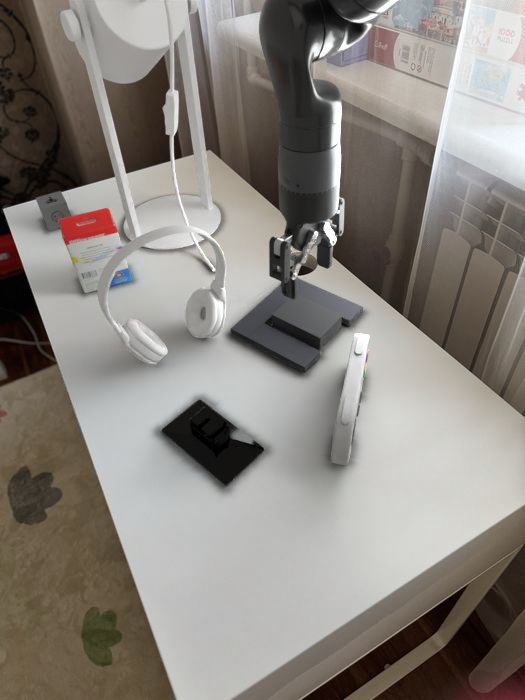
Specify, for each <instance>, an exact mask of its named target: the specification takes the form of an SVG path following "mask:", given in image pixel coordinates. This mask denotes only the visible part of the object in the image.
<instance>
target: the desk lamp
mask: <svg viewBox="0 0 525 700" xmlns="http://www.w3.org/2000/svg"><path fill="white" fill-rule="evenodd" d="M68 3H69V8H68V9H64V10H61V11H60V14H59V15H60V16H59V18H60V24H61V27H62V29H63V32H64V35H65V36H66V38H67V40H69V41H70V42H72V43H73V42H74V44H75V47H76V50H77V52H78V54H79V56H80V57H81V59H82V60H83V62H84V64H85V68H86V72H87V75H88V76H87V77H88V79H89V84H90V88H91V91H92V93H93V94H92V95H93V99H94V102H95V106H96V110H97V113H98V117H99V121H100V125H101V128H102V132H103V136H104V139H105V144H106V147H107V151H108V155H109V158H110V159H109V160H110V163H111V166H112V170H113V174H114V178H115V182H116V186H117V189H118V193H119V197H120V201H121V205H122V209H123V212H124V215H125V216H124V217H125V219H124V222H123V232H124V234H125V236H126V238H127V239H128V240H129V241H132V240H133V239H135V238H137V237H139V236H141V235H143V234H145V233H148V232H150V231H153V230H156V229H159V228H163V227H167V226H174V225H186V226H192V227H196V228H199V229H201V230H203V231H204V232H206V233H207V234H209V235H210V236H212V235H213V233H214V232H216V230H217V229H218V228H219V226H220V223H221V220H222V213H221V210H220V208H219V207H218V205H216V204H215V203H214V202H213V196H212V195H213V194H212V187H211V180H210V171H209V162H208V155H207V148H206V140H205V132H204V124H203V123H204V122H203V116H202V107H201V100H200V94H199V93H200V92H199V84H198V77H197V70H196V69H197V68H196V61H195V54H194V53H195V52H194V46H193V37H192V30H191V23H190V15H192V14H196V12H198V10H199V0H68ZM175 42H177V48H178V55H179V63H180V68H181V69H180V70H181V76H182V84H183V89H184V96H185V104H186V111H187V117H188V118H187V119H188V124H189V131H190V138H191V144H192V152H193V158H194V166H195V173H196V180H197V187H198V191H199V192H198V193H199V196H198V195H191V194H180V190H179V185H178V180H177V174H176V164H175V145H174V143H175V142H174V141H175V140H174V138H175V137H174V136H175V135H176V133H177V131H178V128H179V112H180V111H179V108H180V104H179V103H180V97H179V90H178V89H175ZM168 51H169V89H168V90H167V92H166V93H165V104H164V105H163V106H162V107H161V108H162V112H163V115H164V127H165V135H167V136H169V156H170V157H169V159H170V168H171V176H172V182H173V188H174V192H175V194H171V195H170V194H169V195H164V196H159V197H155V198H152V199H150V200H148V201H147V200H146V201H145V202H143V203H141V204H140V205H138V206H136V207H135V205H134V200H133V196H132V192H131V188H130V183H129V179H128V176H127V173H126V168H125V164H124V160H123V156H122V152H121V147H120V143H119V139H118V135H117V132H116V127H115V123H114V119H113V115H112V111H111V107H110V103H109V99H108V94H107V91H106V86H105V83H104V80H106V81H109V82H112V83H116V84H120V85H121V84H123V85H125V84H126V85H127V84H132V83H136V82H138V81H140V80H143V78H145V77H147V75H148V74H149V73H150V72H151V71H152V70H153V68H155V66H156V65H157V64H158V63H159V62H160V60H161V59H162V57H164V56H165V54H166V53H167V52H168ZM204 240H205V239H204V238H202V237H201V236H200V235H198V234H197V233H177V234H172V235H168V236H165V237H162V238H159V239H156V240H154V241H152V242H149V243H147V244H145V245H143V246H142V247H143V248H146V249H150V250H158V251H169V250H177V249H182V248H187V247H190V246H193V245H194V246H195V247H196V249H197V251H198V252H199V254H200V256H201V257H202V259H203V260H204V262H205V264H207V266H208V267H209V269H210V270H211V271H212V272H216V267H214V265H213V264H212V263H211V262H210V260H209V258H208V257H207V256H206V253H204V251H203V249H202V248H201V246H200V244H199V243H200V242H202V241H204Z"/></svg>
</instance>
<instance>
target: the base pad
mask: <svg viewBox="0 0 525 700" xmlns="http://www.w3.org/2000/svg"><path fill="white" fill-rule="evenodd" d="M298 296H300V297H302V298H304V299H306V300H308V301H311V302H313V303H315V304H317V305H319V306H322V307H324V308H326V309H328V310H330V311H332V312H335V313H337V314H339V315H341V316H342V322H341V324H343V325H346V326H348V327H350V326H351V325H352V324H353V323H354V322H355V321H356V320H357V319H358V318H359V317H360V316H361V314H363V313H364V311H363V310H364V306H362V305H361V304H357V303H355V302H353V301H350V300H348V299H346V298H344V297H342V296H339V295H338V294H335V293H332V292H330V291H328V290H325V289H323V288H321V287H319V286H316V285H315V284H312V283H310V282H307V281H305V280H302V279H300V278H298ZM288 299H289V298H288V297H286V296H284V295H283V294H282V293H281V284H280V285H279V286H278V287H276V288H275V289H274V290H273V291H272V292H271V293H270V294H268V295H267V296H265V298H264V299H263V300H261V302H259V303H258V304H257V305H256V306H254V307H253V309H252V310H250V311H249V312H248V313H247V314H245V316H243V317H241V319H240V320H238V321H237V322H236V323H235V324H234V325H233V326H231V328H230V333H231V335H232V336H233V337H236V338H238V339H240V340H242V341H244V342H245V343H247V344H250V345H251V346H253V347H255V348H257V349H259V350H260V351H263V352H264V353H266V354H268V355H270V356H272V357H274V358H276V359H277V360H279V361H281V362H283V363H284V364H287V365H289V366H291V367H293V368H294V369H296V370H298V371H300V372H302V373H304V374H305V373H307V371H309V370H310V368H312V366H313V365H314V364H315V363H316V362H317V361H318V360H319V359H320V358H321V350H318V349H316V348H314V347H312V346H310V345H308V344H306V343H304V342H302V341H300V340H298V339H296V338H294V337H292V336H290V335H288V334H286V333H284V332H282V331H280V330H278V329H276V328H274V327H272V325H270V324H272V314H273V313H274V312H275V311H276V310H277V309H278V308H279V307H280V306H282V305H283V304H284V303H285V302H286V301H287V300H288Z"/></svg>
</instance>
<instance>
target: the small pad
mask: <svg viewBox="0 0 525 700" xmlns="http://www.w3.org/2000/svg"><path fill="white" fill-rule="evenodd" d="M341 322H342V316H341V315H339V314H337V313H335V312H332V311H330V310H328V309H326V308H324V307H322V306H319V305H317V304H315V303H313V302H311V301H308V300H306V299H304V298H302V297H300V296H297V297H296V298H295V299H294V300H293V299H290V298H289V299H288V300H287V301H286V302H285V303H284V304H283V305H282V306H280V307H279V308H278V309H277V310H276V311H275V312H274V313H273V314H272V322H271V327H273V328H275V329H277V330H279V331H281V332H283V333H285V334H287V335H289V336H291V337H293V338H295V339H297V340H299V341H301V342H303V343H305V344H307V345H309V346H311V347H313V348H315V349H317V350H319V351H321V350H322V349H323V347H325V346H326V344H328V342H329V341H330V340H331V339H332V338H333V337H334V336H335V335H336V334H337V333H338V332H339V331H340V330H341V329H342V323H341Z"/></svg>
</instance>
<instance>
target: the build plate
mask: <svg viewBox="0 0 525 700" xmlns="http://www.w3.org/2000/svg"><path fill="white" fill-rule="evenodd" d="M161 434H163V435H164V436H165V437H167V439H168V440H170V441H171V442H172V443H173V444H174V445H176V446H177V447H178V448H179V449H181V450H182V451H183V452H184V453H185V454H186V455H188V456H189V457H190V458H191V459H192V460H193V461H195V462H196V463H197V464H199V466H200V467H202V468H203V469H204V470H205V471H207V472H208V473H209V474H210V475H211V476H213V477H214V478H215V479H216V480H217V481H218V482H220V483H221V485H223V486H224V487H228V486H229V485H230V484H231V483H232V482H233V481H234V480H235V479H236V478H237V477H238V476H239V475H240V474H242V473H243V472H244V471H245V470H246V469H247V468H248V467H249V466H250V465H251V464H253V462H254V461H255V460H257V458H259V457H260V456H261V455H262V454H263V453H264V452H265V447H264V446H262V445H261V444H259V442H257V441H256V440H255V439H253V438H252V437H250V436H249V435H248V434H247V433H245V432H244V431H242V430H241V428H239V427H237V426H236V425H234V423H232V422H231V421H229V420H228V419H227V418H225V417H224V416H223V415H222V414H220V413H219V412H217V411H216V410H215V409H214V408H213V407H212V406H211V405H210V404H208V402H206V401H203V400H202V399H197V400H196V401H195V402H194V403H193V404H191V405H189V407H188V408H186V409H185V410H183V412H182V413H180V414H179V415H178V416H177V417H175V418H174V419H172V421H170V422H168V424H166V425H165V426H164V427H162V429H161Z"/></svg>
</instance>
